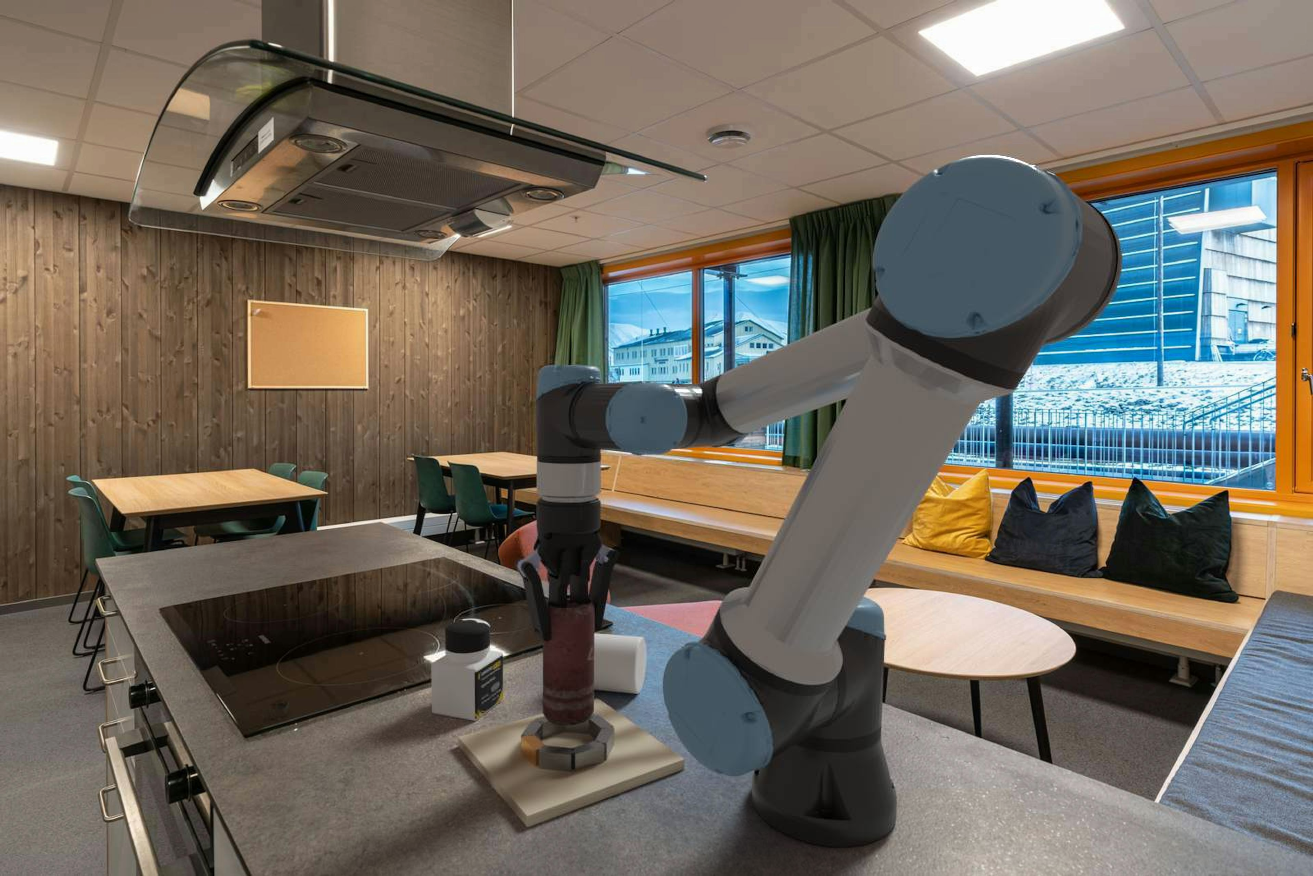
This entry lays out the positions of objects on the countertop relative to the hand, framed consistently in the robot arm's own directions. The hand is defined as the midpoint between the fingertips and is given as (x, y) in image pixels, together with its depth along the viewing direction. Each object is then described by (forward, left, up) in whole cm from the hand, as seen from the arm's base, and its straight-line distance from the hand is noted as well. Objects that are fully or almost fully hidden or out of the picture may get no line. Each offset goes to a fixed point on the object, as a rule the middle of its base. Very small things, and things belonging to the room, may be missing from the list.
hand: (568, 691), depth 86 cm
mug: (+16, -16, -8) cm, 24 cm away
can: (0, 0, -3) cm, 3 cm away
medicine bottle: (+20, +5, -8) cm, 22 cm away
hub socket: (0, 0, -7) cm, 7 cm away
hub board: (0, 0, -8) cm, 8 cm away
